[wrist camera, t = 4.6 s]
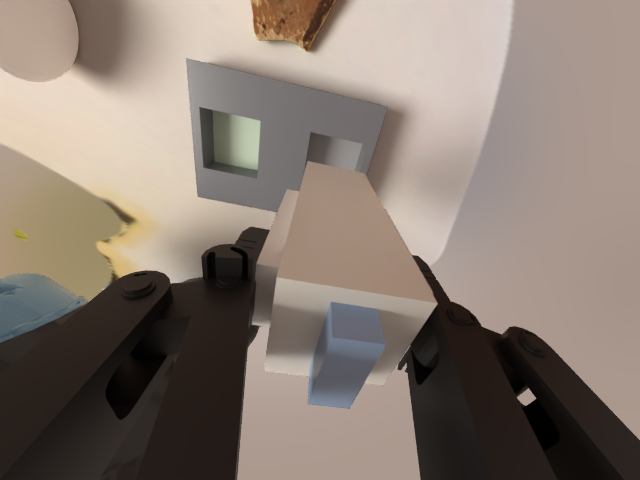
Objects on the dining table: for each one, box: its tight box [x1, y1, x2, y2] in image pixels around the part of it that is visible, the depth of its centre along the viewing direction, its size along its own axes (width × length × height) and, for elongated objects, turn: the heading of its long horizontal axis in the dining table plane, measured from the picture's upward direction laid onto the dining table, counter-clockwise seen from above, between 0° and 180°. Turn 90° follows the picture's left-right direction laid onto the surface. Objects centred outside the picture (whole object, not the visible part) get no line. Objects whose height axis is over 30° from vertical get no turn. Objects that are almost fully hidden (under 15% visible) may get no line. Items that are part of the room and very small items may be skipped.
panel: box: [186, 58, 388, 212], centre depth 24 cm, size 12×17×3 cm
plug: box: [264, 161, 438, 409], centre depth 11 cm, size 4×4×13 cm
